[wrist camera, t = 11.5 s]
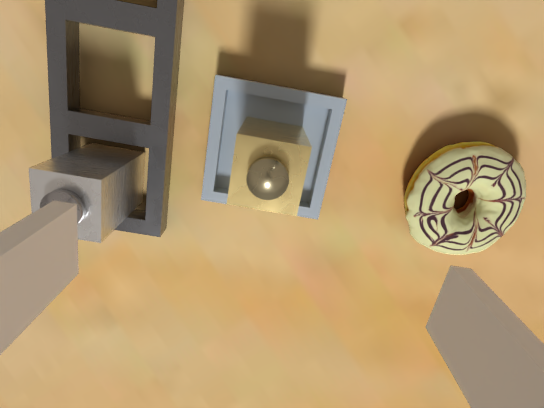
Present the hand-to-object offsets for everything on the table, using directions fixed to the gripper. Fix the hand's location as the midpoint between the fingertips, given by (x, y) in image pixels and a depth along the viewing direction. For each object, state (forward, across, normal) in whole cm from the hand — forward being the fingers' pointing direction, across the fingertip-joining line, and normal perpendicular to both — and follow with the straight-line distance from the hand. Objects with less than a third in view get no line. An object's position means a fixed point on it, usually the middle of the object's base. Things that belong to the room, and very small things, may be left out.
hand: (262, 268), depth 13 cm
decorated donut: (+22, +18, -2) cm, 29 cm away
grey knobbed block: (+22, -14, -5) cm, 27 cm away
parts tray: (+22, 0, 0) cm, 22 cm away
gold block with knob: (+21, 0, 0) cm, 21 cm away
